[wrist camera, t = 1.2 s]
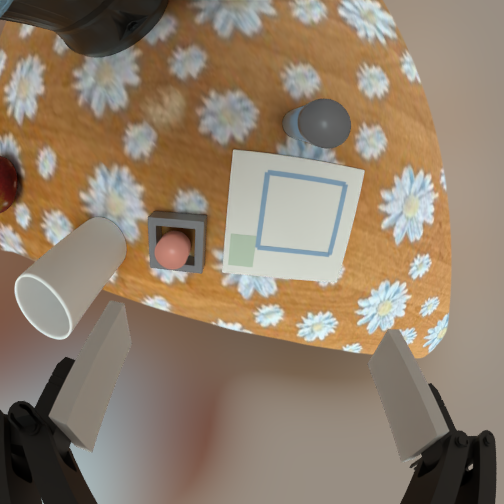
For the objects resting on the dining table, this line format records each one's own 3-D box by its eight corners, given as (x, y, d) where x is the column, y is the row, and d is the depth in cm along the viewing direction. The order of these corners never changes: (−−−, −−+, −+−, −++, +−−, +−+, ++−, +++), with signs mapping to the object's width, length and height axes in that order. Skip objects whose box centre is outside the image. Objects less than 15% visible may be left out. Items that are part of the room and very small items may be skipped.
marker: (283, 106, 28) (304, 93, 17) (315, 111, 28) (353, 105, 17) (279, 136, 30) (297, 143, 18) (311, 142, 30) (346, 152, 19)
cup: (135, 236, 35) (77, 307, 21) (115, 277, 38) (66, 351, 23) (89, 206, 33) (16, 259, 18) (74, 249, 36) (13, 310, 21)
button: (160, 229, 32) (153, 237, 30) (191, 232, 32) (187, 240, 30) (161, 258, 34) (155, 267, 32) (191, 261, 34) (187, 271, 32)
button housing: (154, 211, 33) (148, 217, 31) (207, 215, 34) (204, 221, 32) (155, 259, 36) (150, 267, 34) (204, 264, 37) (201, 273, 35)
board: (233, 149, 30) (233, 149, 29) (362, 169, 31) (365, 170, 30) (222, 269, 37) (222, 272, 36) (335, 279, 38) (336, 282, 37)
